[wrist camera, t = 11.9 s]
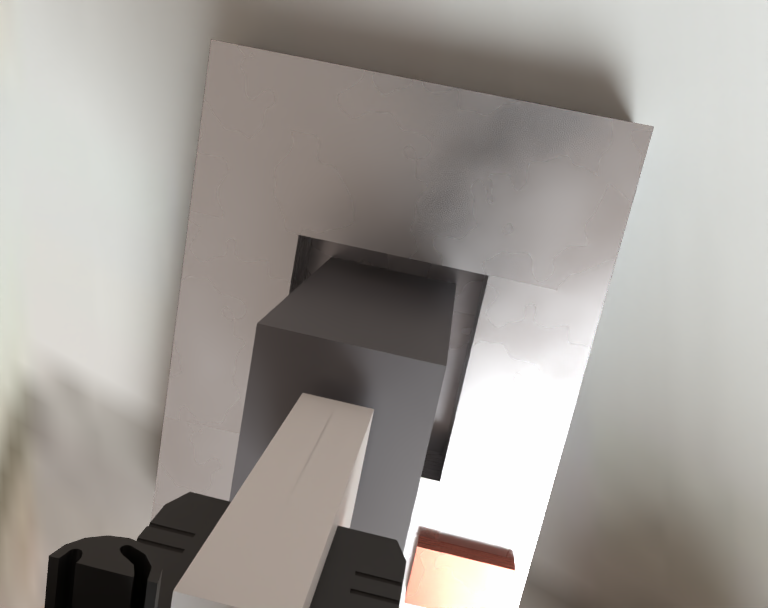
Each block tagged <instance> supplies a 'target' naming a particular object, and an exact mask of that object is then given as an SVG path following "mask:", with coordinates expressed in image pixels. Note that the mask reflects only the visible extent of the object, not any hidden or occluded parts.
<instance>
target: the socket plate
mask: <svg viewBox="0 0 768 608" xmlns="http://www.w3.org/2000/svg"><path fill="white" fill-rule="evenodd" d="M653 128H654V127H653V126H648V125H643V124H638V123H633V122H628V121H623V120H618V119H613V118H607V117H602V116H597V115H592V114H587V113H582V112H577V111H572V110H567V109H562V108H557V107H552V106H547V105H541V104H536V103H531V102H526V101H521V100H516V99H511V98H506V97H501V96H496V95H491V94H486V93H481V92H476V91H470V90H465V89H460V88H455V87H450V86H445V85H440V84H435V83H430V82H425V81H420V80H415V79H410V78H404V77H399V76H394V75H389V74H384V73H379V72H374V71H369V70H364V69H359V68H354V67H349V66H344V65H339V64H333V63H328V62H323V61H318V60H313V59H308V58H303V57H298V56H293V55H288V54H283V53H278V52H273V51H267V50H262V49H257V48H252V47H247V46H242V45H237V44H232V43H227V42H222V41H217V40H212V39H211V44H210V52H209V60H208V68H207V76H206V84H205V92H204V100H203V108H202V116H201V124H200V132H199V140H198V148H197V156H196V164H195V172H194V180H193V188H192V196H191V204H190V212H189V220H188V228H187V236H186V245H185V253H184V261H183V269H182V277H181V285H180V293H179V301H178V309H177V317H176V325H175V333H174V341H173V349H172V357H171V365H170V373H169V381H168V389H167V397H166V405H165V413H164V421H163V429H162V437H161V445H160V453H159V461H158V469H157V477H156V485H155V494H154V502H153V510H152V518H151V521H152V520H153V518H154V517H155V516H156V515H157V514H158V512H159V511H160V510H161V509H162V508H163V506H164V505H165V504H167V503H169V502H171V501H173V500H175V499H177V498H179V497H180V496H182V495H184V494H186V493H188V492H193V493H197V494H202V495H206V496H210V497H214V498H218V499H222V500H226V501H229V498H230V492H231V486H232V479H233V473H234V467H235V460H236V454H237V447H238V441H239V435H240V428H241V422H242V416H243V409H244V403H245V396H246V390H247V384H248V377H249V371H250V365H251V358H252V352H253V345H254V339H255V333H256V326H257V323H258V322H259V321H260V320H261V319H262V318H263V317H265V316H266V315H267V314H268V313H269V312H270V311H271V310H272V309H274V308H275V307H276V306H277V305H278V304H279V303H280V302H281V301H283V300H284V299H285V298H286V297H287V296H288V295H289V294H290V293H292V292H293V291H294V290H295V289H296V288H297V287H298V286H299V285H301V284H302V283H303V282H304V281H305V280H306V279H307V278H308V277H310V276H311V275H312V274H313V273H314V272H315V271H316V270H317V269H319V268H320V267H321V266H322V265H323V264H324V263H325V262H326V261H328V260H329V259H330V258H331V257H333V258H338V259H342V260H347V261H352V262H356V263H361V264H365V265H370V266H374V267H379V268H384V269H388V270H393V271H397V272H402V273H406V274H411V275H416V276H420V277H425V278H429V279H434V280H438V281H443V282H447V283H452V284H457V285H456V293H455V301H454V309H453V317H452V325H451V334H450V342H449V350H448V358H447V366H446V371H445V375H444V379H443V384H442V388H441V392H440V396H439V401H438V405H437V409H436V414H435V418H434V422H433V427H432V431H431V435H430V440H429V444H428V448H427V453H426V457H425V461H424V466H423V470H422V474H421V479H420V483H419V487H418V492H417V496H416V500H415V505H414V509H413V513H412V517H411V522H410V526H409V530H408V535H407V539H406V543H405V548H404V552H403V555H404V557H405V559H406V568H405V574H404V580H403V586H402V593H401V599H400V604H399V608H518V606H519V603H520V599H521V596H522V592H523V588H524V585H525V581H526V578H527V574H528V571H529V567H530V564H531V560H532V557H533V553H534V549H535V546H536V542H537V539H538V535H539V532H540V528H541V525H542V521H543V518H544V514H545V510H546V507H547V503H548V500H549V496H550V493H551V489H552V486H553V482H554V479H555V475H556V472H557V468H558V464H559V461H560V457H561V454H562V450H563V447H564V443H565V440H566V436H567V433H568V429H569V425H570V422H571V418H572V415H573V411H574V408H575V404H576V401H577V397H578V394H579V390H580V387H581V383H582V379H583V376H584V372H585V369H586V365H587V362H588V358H589V355H590V351H591V348H592V344H593V340H594V337H595V333H596V330H597V326H598V323H599V319H600V316H601V312H602V309H603V305H604V302H605V298H606V294H607V291H608V287H609V284H610V280H611V277H612V273H613V270H614V266H615V263H616V259H617V255H618V252H619V248H620V245H621V241H622V238H623V234H624V231H625V227H626V224H627V220H628V217H629V213H630V209H631V206H632V202H633V199H634V195H635V192H636V188H637V185H638V181H639V178H640V174H641V170H642V167H643V163H644V160H645V156H646V153H647V149H648V146H649V142H650V139H651V135H652V132H653Z"/></svg>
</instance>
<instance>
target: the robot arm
mask: <svg viewBox="0 0 768 608" xmlns="http://www.w3.org/2000/svg"><path fill="white" fill-rule="evenodd" d="M373 412H374V409H371V408H367V407H362V406H358V405H354V404H350V403H345V402H341V401H337V400H332V399H328V398H324V397H319V396H315V395H311V394H306V393H302V395H301V396H300V398H299V399H298V401H297V402H296V404H295V405H294V407H293V408H292V410H291V411H290V413H289V415H288V416H287V418H286V419H285V421H284V422H283V424H282V425H281V427H280V428H279V430H278V431H277V433H276V434H275V436H274V437H273V439H272V440H271V442H270V444H269V445H268V447H267V448H266V450H265V451H264V453H263V454H262V456H261V457H260V459H259V460H258V462H257V463H256V465H255V466H254V468H253V469H252V471H251V473H250V474H249V476H248V477H247V479H246V480H245V482H244V483H243V485H242V486H241V488H240V489H239V491H238V492H237V494H236V495H235V497H234V499H233V500H232V502H230V501H226V500H222V499H218V498H214V497H210V496H206V495H202V494H197V493H193V492H188V493H186V494H184V495H182V496H180V497H179V498H177V499H175V500H173V501H171V502H169V503H167V504H165V505H164V506H163V508H162V509H161V510H160V511H159V512H158V514H157V515H156V516H155V517H154V518H153V520H152V521H151V522H150V525H149V526H147V527H146V528H145V529H144V531H143V532H142V533H141V534H140V535H139V537H138V538H137V541H135V540H133V539H130V538H124V537H115V536H99V537H89V538H84V539H81V540H78V541H75V542H72V543H69V544H66V545H64V546H63V547H61V548H60V549H58V550H57V551H55V552H54V553H52V554H51V555H50V556H49V562H48V573H47V585H46V597H45V608H399V604H400V599H401V593H402V586H403V580H404V574H405V568H406V559H405V557H404V555H403V552H402V550H401V548H400V546H399V543H398V541H397V540H395V539H391V538H387V537H383V536H379V535H375V534H371V533H367V532H363V531H359V530H354V529H350V524H351V519H352V515H353V510H354V505H355V500H356V495H357V490H358V485H359V480H360V476H361V471H362V466H363V461H364V456H365V451H366V446H367V442H368V437H369V432H370V427H371V422H372V417H373Z"/></svg>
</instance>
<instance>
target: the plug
mask: <svg viewBox="0 0 768 608" xmlns="http://www.w3.org/2000/svg"><path fill="white" fill-rule="evenodd" d="M456 285H457V284H452V283H447V282H443V281H438V280H434V279H429V278H425V277H420V276H416V275H411V274H406V273H402V272H397V271H393V270H388V269H384V268H379V267H374V266H370V265H365V264H361V263H356V262H352V261H347V260H342V259H338V258H333V257H331V258H330V259H329V260H328V261H326V262H325V263H324V264H323V265H322V266H321V267H320V268H319V269H317V270H316V271H315V272H314V273H313V274H312V275H311V276H310V277H308V278H307V279H306V280H305V281H304V282H303V283H302V284H301V285H299V286H298V287H297V288H296V289H295V290H294V291H293V292H292V293H290V294H289V295H288V296H287V297H286V298H285V299H284V300H283V301H281V302H280V303H279V304H278V305H277V306H276V307H275V308H274V309H272V310H271V311H270V312H269V313H268V314H267V315H266V316H265V317H263V318H262V319H261V320H260V321H259V322H258V323H257V326H256V333H255V339H254V345H253V352H252V358H251V365H250V371H249V377H248V384H247V390H246V396H245V403H244V409H243V416H242V422H241V428H240V435H239V441H238V447H237V454H236V460H235V467H234V473H233V479H232V486H231V492H230V498H229V501H230V502H232V500H233V499H234V497H235V495H236V494H237V492H238V491H239V489H240V488H241V486H242V485H243V483H244V482H245V480H246V479H247V477H248V476H249V474H250V473H251V471H252V469H253V468H254V466H255V465H256V463H257V462H258V460H259V459H260V457H261V456H262V454H263V453H264V451H265V450H266V448H267V447H268V445H269V444H270V442H271V440H272V439H273V437H274V436H275V434H276V433H277V431H278V430H279V428H280V427H281V425H282V424H283V422H284V421H285V419H286V418H287V416H288V415H289V413H290V411H291V410H292V408H293V407H294V405H295V404H296V402H297V401H298V399H299V398H300V396H301V395H302V393H306V394H311V395H315V396H319V397H324V398H328V399H332V400H337V401H341V402H345V403H350V404H354V405H358V406H362V407H367V408H371V409H374V412H373V417H372V422H371V427H370V432H369V437H368V442H367V446H366V451H365V456H364V461H363V466H362V471H361V476H360V480H359V485H358V490H357V495H356V500H355V505H354V510H353V515H352V519H351V524H350V529H354V530H359V531H363V532H367V533H371V534H375V535H379V536H383V537H387V538H391V539H395V540H397V541H398V543H399V546H400V548H401V550H402V552H404V548H405V543H406V539H407V535H408V530H409V526H410V522H411V517H412V513H413V509H414V505H415V500H416V496H417V492H418V487H419V483H420V479H421V474H422V470H423V466H424V461H425V457H426V453H427V448H428V444H429V440H430V435H431V431H432V427H433V422H434V418H435V414H436V409H437V405H438V401H439V396H440V392H441V388H442V384H443V379H444V375H445V371H446V366H447V358H448V350H449V342H450V334H451V325H452V317H453V309H454V301H455V293H456Z"/></svg>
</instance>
